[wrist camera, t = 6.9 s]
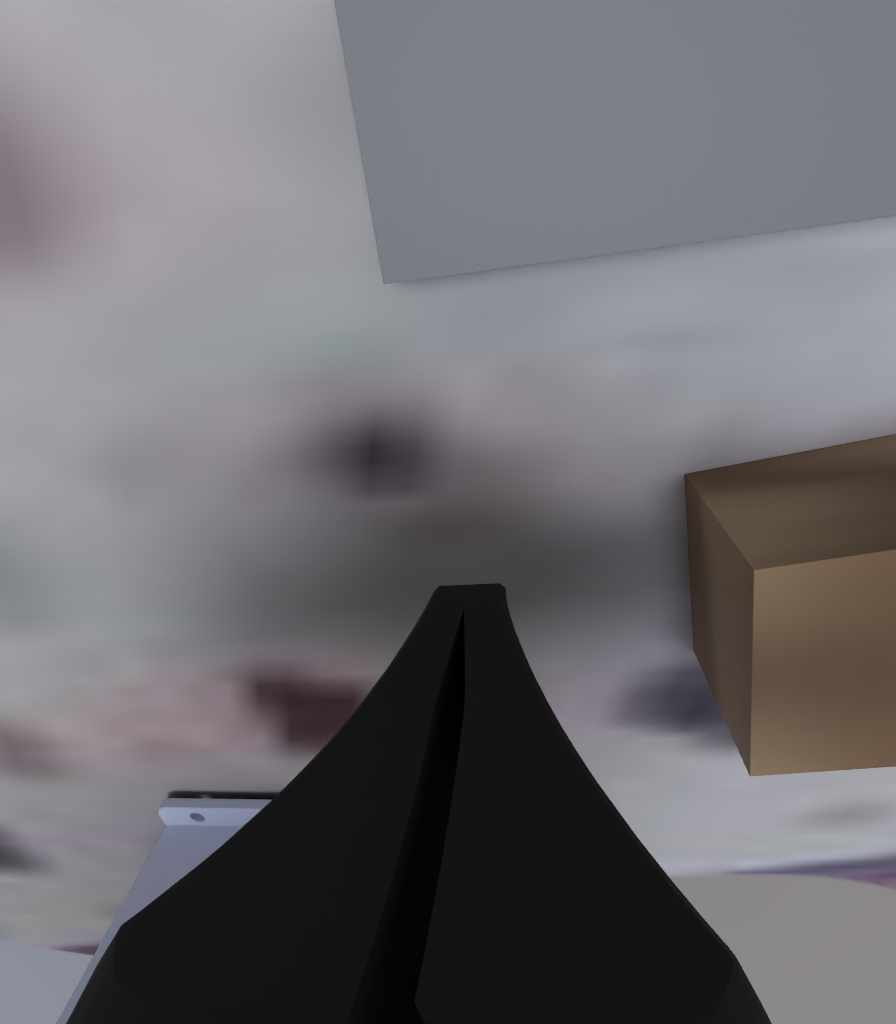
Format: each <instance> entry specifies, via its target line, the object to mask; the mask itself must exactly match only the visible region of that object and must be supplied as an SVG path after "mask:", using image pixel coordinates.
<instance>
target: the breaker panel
mask: <svg viewBox="0 0 896 1024" xmlns="http://www.w3.org/2000/svg"><path fill="white" fill-rule="evenodd" d="M334 1H335V7H336V13H337V18H338V24H339V30H340V36H341V41H342V47H343V53H344V58H345V64H346V70H347V76H348V81H349V87H350V93H351V99H352V104H353V110H354V116H355V121H356V127H357V133H358V139H359V144H360V150H361V156H362V161H363V167H364V173H365V179H366V184H367V190H368V196H369V202H370V207H371V213H372V219H373V224H374V230H375V236H376V242H377V247H378V253H379V259H380V265H381V270H382V276H383V282H384V284H391V283H398V282H405V281H413V280H420V279H428V278H435V277H443V276H450V275H458V274H465V273H473V272H480V271H487V270H495V269H502V268H510V267H517V266H525V265H532V264H540V263H547V262H554V261H562V260H569V259H577V258H584V257H592V256H599V255H607V254H614V253H622V252H629V251H636V250H644V249H651V248H659V247H666V246H674V245H681V244H689V243H696V242H703V241H711V240H718V239H726V238H733V237H741V236H748V235H756V234H763V233H771V232H778V231H785V230H793V229H800V228H808V227H815V226H823V225H830V224H838V223H845V222H852V221H860V220H867V219H875V218H882V217H890V216H896V0H334Z"/></svg>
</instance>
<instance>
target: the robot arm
mask: <svg viewBox="0 0 896 1024" xmlns="http://www.w3.org/2000/svg"><path fill="white" fill-rule="evenodd" d="M158 814H159V816H160V818H161V819H162V821H163V822H164V824H165V825H166V826H165V828H164V830H163V832H162V833H161V835H160V837H159V839H158V841H157V842H156V844H155V846H154V848H153V850H152V851H151V853H150V855H149V857H148V859H147V860H146V862H145V864H144V866H143V868H142V869H141V871H140V873H139V875H138V877H137V879H136V880H135V882H134V884H133V886H132V888H131V889H130V891H129V893H128V895H127V897H126V898H125V900H124V902H123V904H122V906H121V907H120V909H119V911H118V913H117V915H116V916H115V918H114V920H113V922H112V924H111V925H110V927H109V929H108V931H107V933H106V934H105V936H104V938H103V940H102V942H101V943H100V945H99V947H98V949H97V951H96V953H95V954H94V956H93V958H92V960H91V962H90V963H89V965H88V967H87V969H86V971H85V972H84V974H83V976H82V978H81V980H80V981H79V983H78V985H77V987H76V989H75V991H74V992H73V994H72V996H71V998H70V1000H69V1001H68V1003H67V1005H66V1007H65V1008H64V1010H63V1012H62V1014H61V1016H60V1018H59V1019H58V1021H57V1023H56V1024H771V1022H770V1020H769V1018H768V1016H767V1014H766V1012H765V1010H764V1008H763V1006H762V1004H761V1002H760V1000H759V998H758V997H757V995H756V993H755V991H754V989H753V987H752V985H751V984H750V982H749V980H748V978H747V976H746V974H745V973H744V971H743V969H742V967H741V965H740V963H739V962H738V960H737V958H736V957H735V955H734V954H733V953H732V951H731V950H730V949H729V947H728V946H727V945H726V944H725V943H724V942H723V941H722V939H721V938H720V937H719V936H718V935H717V934H716V932H715V931H714V930H713V929H712V928H711V927H710V926H709V924H708V923H707V922H706V921H705V920H704V919H703V918H702V917H701V915H700V914H699V913H698V912H697V910H696V909H695V908H694V907H693V906H692V904H691V903H690V902H689V901H688V900H687V898H686V897H685V896H684V895H683V894H682V892H681V891H680V890H679V889H678V888H677V887H676V885H675V884H674V883H673V882H672V881H671V879H670V878H669V877H668V876H667V874H666V873H665V872H664V871H663V869H662V868H661V867H660V865H659V864H658V863H657V862H656V860H655V859H654V858H653V857H652V855H651V854H650V853H649V852H648V850H647V849H646V848H645V847H644V845H643V844H642V843H641V841H640V840H639V839H638V838H637V836H636V835H635V834H634V832H633V831H632V830H631V828H630V827H629V825H628V824H627V823H626V821H625V820H624V819H623V817H622V816H621V814H620V813H619V812H618V810H617V809H616V808H615V806H614V805H613V803H612V802H611V801H610V799H609V798H608V797H607V795H606V794H605V792H604V791H603V790H602V788H601V787H600V785H599V784H598V783H597V781H596V780H595V778H594V777H593V776H592V774H591V772H590V771H589V769H588V768H587V766H586V765H585V763H584V762H583V760H582V759H581V757H580V756H579V754H578V753H577V751H576V750H575V748H574V746H573V745H572V743H571V741H570V740H569V738H568V736H567V735H566V733H565V732H564V730H563V728H562V727H561V725H560V723H559V721H558V720H557V718H556V716H555V714H554V713H553V711H552V709H551V707H550V705H549V704H548V702H547V700H546V698H545V696H544V694H543V692H542V690H541V688H540V686H539V684H538V682H537V680H536V678H535V676H534V674H533V672H532V670H531V668H530V666H529V663H528V661H527V659H526V656H525V654H524V652H523V649H522V647H521V645H520V642H519V640H518V637H517V635H516V632H515V629H514V626H513V623H512V620H511V617H510V613H509V610H508V605H507V599H506V589H505V587H503V586H502V585H501V584H500V583H497V584H475V585H453V586H439V587H438V588H437V589H436V590H435V591H434V593H433V595H432V597H431V599H430V601H429V602H428V604H427V606H426V608H425V610H424V611H423V613H422V615H421V617H420V618H419V620H418V622H417V623H416V625H415V627H414V628H413V630H412V632H411V633H410V635H409V636H408V638H407V639H406V641H405V643H404V644H403V646H402V647H401V649H400V650H399V652H398V653H397V655H396V656H395V658H394V659H393V661H392V662H391V664H390V665H389V667H388V668H387V670H386V671H385V672H384V674H383V675H382V676H381V678H380V679H379V680H378V682H377V683H376V684H375V686H374V687H373V688H372V690H371V691H370V692H369V694H368V695H367V697H366V698H365V699H364V701H363V702H362V703H361V704H360V706H359V707H358V708H357V709H356V711H355V712H354V713H353V714H352V715H351V717H350V718H349V719H348V720H347V721H346V723H345V724H344V725H343V726H342V727H341V729H340V730H339V731H338V732H337V733H336V734H335V735H334V737H333V738H332V739H331V740H330V741H329V742H328V743H327V744H326V746H325V747H324V748H323V749H322V750H321V751H320V752H319V753H318V754H317V755H316V756H315V757H314V758H313V759H312V760H311V761H310V762H309V764H308V765H307V766H306V767H305V768H304V769H303V770H302V771H301V772H300V773H299V774H298V775H297V776H296V777H295V778H294V779H293V780H292V781H291V782H290V783H289V784H288V785H287V786H286V787H285V788H284V789H283V790H282V791H281V792H280V793H279V794H278V795H277V796H276V797H275V798H274V799H273V800H270V799H205V798H169V799H166V800H164V801H163V803H162V805H161V806H160V808H159V810H158Z"/></svg>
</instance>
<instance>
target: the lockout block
mask: <svg viewBox="0 0 896 1024" xmlns="http://www.w3.org/2000/svg"><path fill="white" fill-rule="evenodd" d="M685 491H686V510H687V529H688V548H689V568H690V587H691V606H692V625H693V644H694V652H695V654H696V656H697V659H698V661H699V663H700V665H701V668H702V670H703V672H704V674H705V676H706V679H707V681H708V683H709V685H710V688H711V690H712V692H713V694H714V697H715V699H716V701H717V703H718V706H719V708H720V710H721V712H722V715H723V717H724V719H725V721H726V723H727V726H728V728H729V730H730V732H731V735H732V737H733V739H734V741H735V744H736V746H737V748H738V750H739V753H740V755H741V757H742V759H743V762H744V764H745V766H746V768H747V771H748V773H749V775H750V776H761V775H776V774H791V773H805V772H820V771H835V770H849V769H864V768H879V767H893V766H896V434H894V435H889V436H883V437H878V438H873V439H868V440H862V441H857V442H852V443H846V444H841V445H836V446H831V447H825V448H820V449H815V450H809V451H804V452H799V453H793V454H788V455H783V456H778V457H772V458H767V459H762V460H756V461H751V462H746V463H741V464H735V465H730V466H725V467H719V468H714V469H709V470H703V471H698V472H693V473H688V474H685Z"/></svg>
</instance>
